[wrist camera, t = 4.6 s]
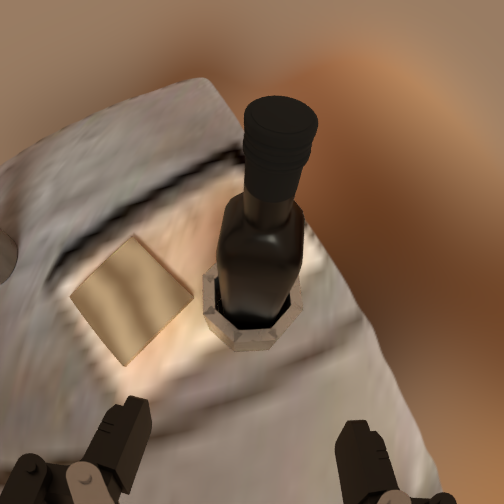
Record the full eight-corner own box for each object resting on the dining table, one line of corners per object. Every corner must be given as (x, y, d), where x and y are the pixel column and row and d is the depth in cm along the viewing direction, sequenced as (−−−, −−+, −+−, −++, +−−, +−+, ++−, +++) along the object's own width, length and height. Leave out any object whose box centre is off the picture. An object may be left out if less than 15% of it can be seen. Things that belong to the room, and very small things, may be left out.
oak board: (125, 366, 33) (123, 366, 33) (72, 298, 37) (69, 296, 36) (193, 298, 38) (192, 296, 37) (134, 239, 42) (132, 236, 41)
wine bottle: (230, 288, 39) (225, 74, 12) (273, 294, 39) (343, 91, 12) (223, 330, 37) (194, 153, 10) (268, 336, 37) (358, 176, 10)
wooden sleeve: (252, 368, 35) (257, 362, 27) (192, 314, 37) (182, 295, 30) (304, 308, 38) (320, 288, 31) (245, 260, 41) (248, 231, 34)
